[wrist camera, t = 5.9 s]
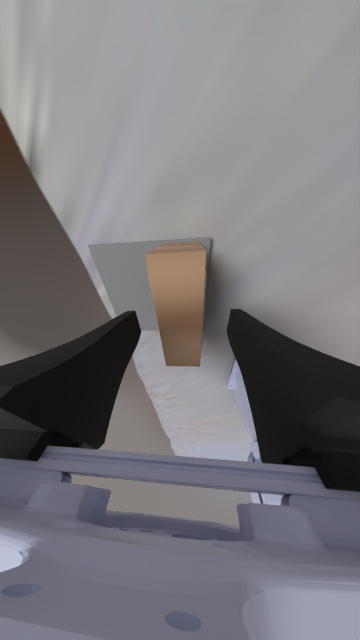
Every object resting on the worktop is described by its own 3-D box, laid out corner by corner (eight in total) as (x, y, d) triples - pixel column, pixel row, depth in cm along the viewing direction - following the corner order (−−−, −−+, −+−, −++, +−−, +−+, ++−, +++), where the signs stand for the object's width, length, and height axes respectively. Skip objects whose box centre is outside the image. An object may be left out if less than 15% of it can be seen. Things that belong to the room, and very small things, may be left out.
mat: (204, 327, 17) (204, 329, 17) (123, 328, 18) (122, 330, 17) (210, 237, 11) (210, 237, 11) (90, 245, 12) (88, 245, 12)
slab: (197, 324, 16) (200, 366, 11) (172, 325, 16) (165, 365, 12) (199, 241, 11) (207, 250, 6) (163, 243, 11) (143, 254, 6)
